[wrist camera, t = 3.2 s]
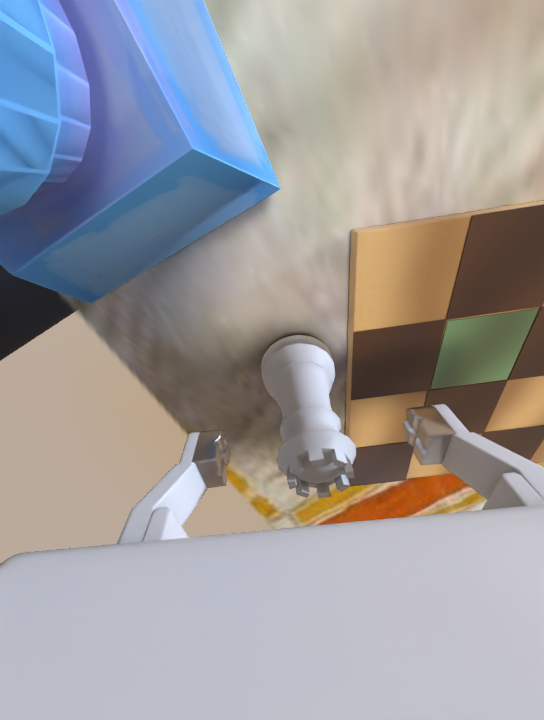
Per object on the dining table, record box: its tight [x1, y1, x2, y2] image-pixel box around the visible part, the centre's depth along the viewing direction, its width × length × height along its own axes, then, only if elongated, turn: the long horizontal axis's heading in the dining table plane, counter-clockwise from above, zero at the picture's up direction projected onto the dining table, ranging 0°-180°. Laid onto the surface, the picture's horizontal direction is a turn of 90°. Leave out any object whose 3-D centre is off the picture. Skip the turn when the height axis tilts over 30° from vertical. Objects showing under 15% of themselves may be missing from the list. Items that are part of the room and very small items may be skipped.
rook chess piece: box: [261, 335, 356, 498], centre depth 13 cm, size 4×4×8 cm
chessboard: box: [345, 200, 544, 487], centre depth 17 cm, size 20×20×1 cm
